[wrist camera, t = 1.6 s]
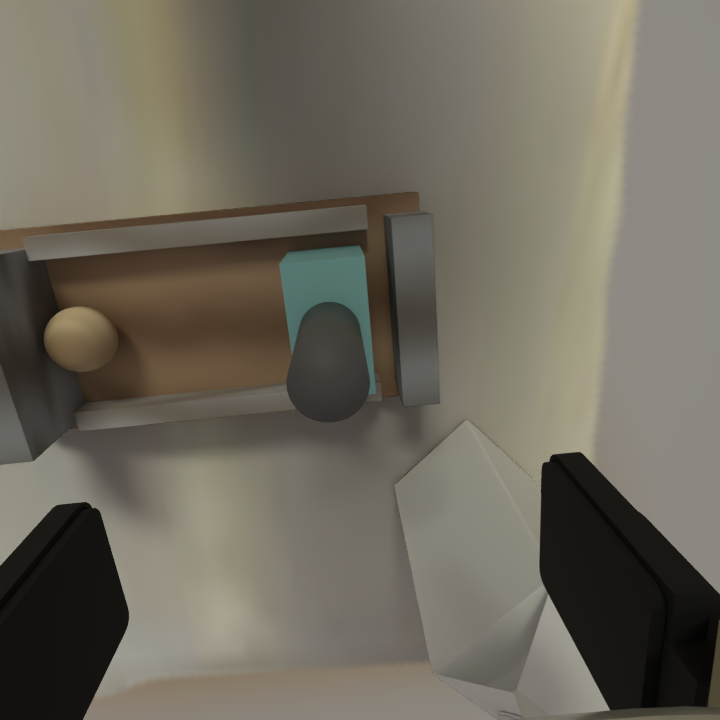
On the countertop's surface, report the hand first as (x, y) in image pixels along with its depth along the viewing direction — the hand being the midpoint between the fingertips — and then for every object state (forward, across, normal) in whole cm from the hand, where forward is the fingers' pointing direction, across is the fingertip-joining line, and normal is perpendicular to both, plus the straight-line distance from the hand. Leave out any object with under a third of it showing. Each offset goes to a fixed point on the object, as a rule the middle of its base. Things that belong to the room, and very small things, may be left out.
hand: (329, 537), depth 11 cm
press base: (+22, +7, -1) cm, 23 cm away
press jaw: (+20, 0, -1) cm, 20 cm away
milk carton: (+23, -8, +13) cm, 28 cm away
